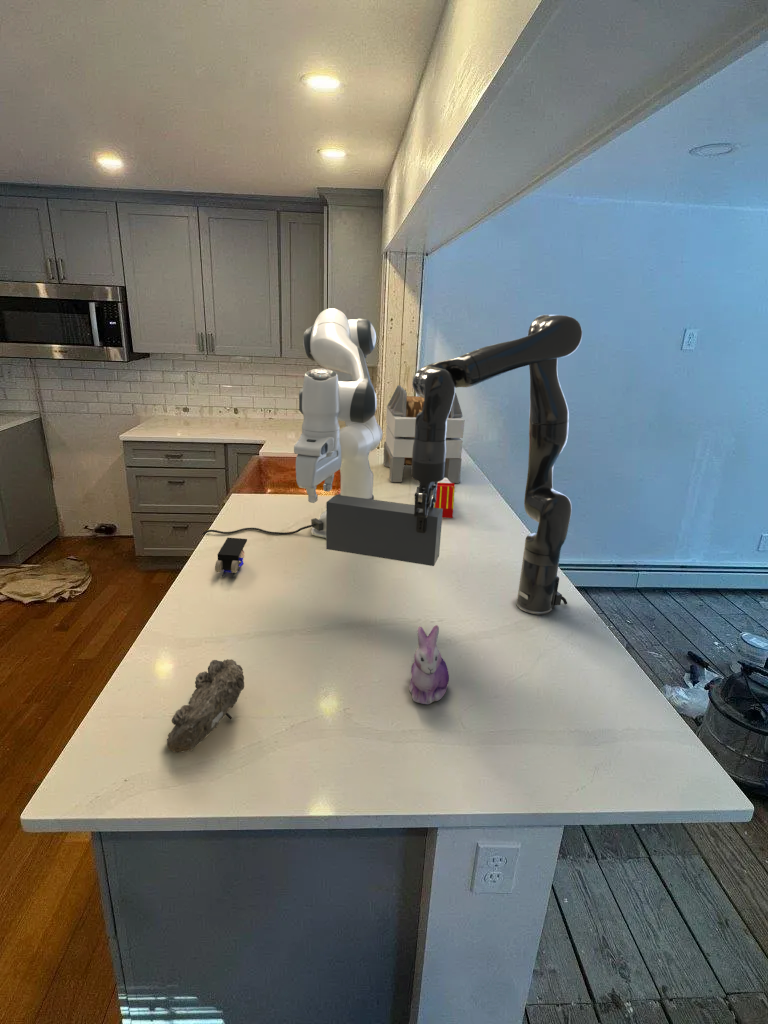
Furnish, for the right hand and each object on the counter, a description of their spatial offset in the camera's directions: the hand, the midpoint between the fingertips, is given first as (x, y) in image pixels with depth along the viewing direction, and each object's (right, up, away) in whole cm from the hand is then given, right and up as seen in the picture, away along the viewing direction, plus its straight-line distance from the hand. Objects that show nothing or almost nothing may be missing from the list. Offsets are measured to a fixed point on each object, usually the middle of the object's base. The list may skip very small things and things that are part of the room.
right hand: (424, 527), depth 133 cm
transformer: (+8, +22, +142) cm, 144 cm away
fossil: (-42, -36, -25) cm, 61 cm away
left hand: (-25, +7, +5) cm, 27 cm away
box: (-10, -6, +5) cm, 13 cm away
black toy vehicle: (-54, -14, +34) cm, 66 cm away
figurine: (0, -34, -15) cm, 37 cm away
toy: (+12, +6, +96) cm, 97 cm away
